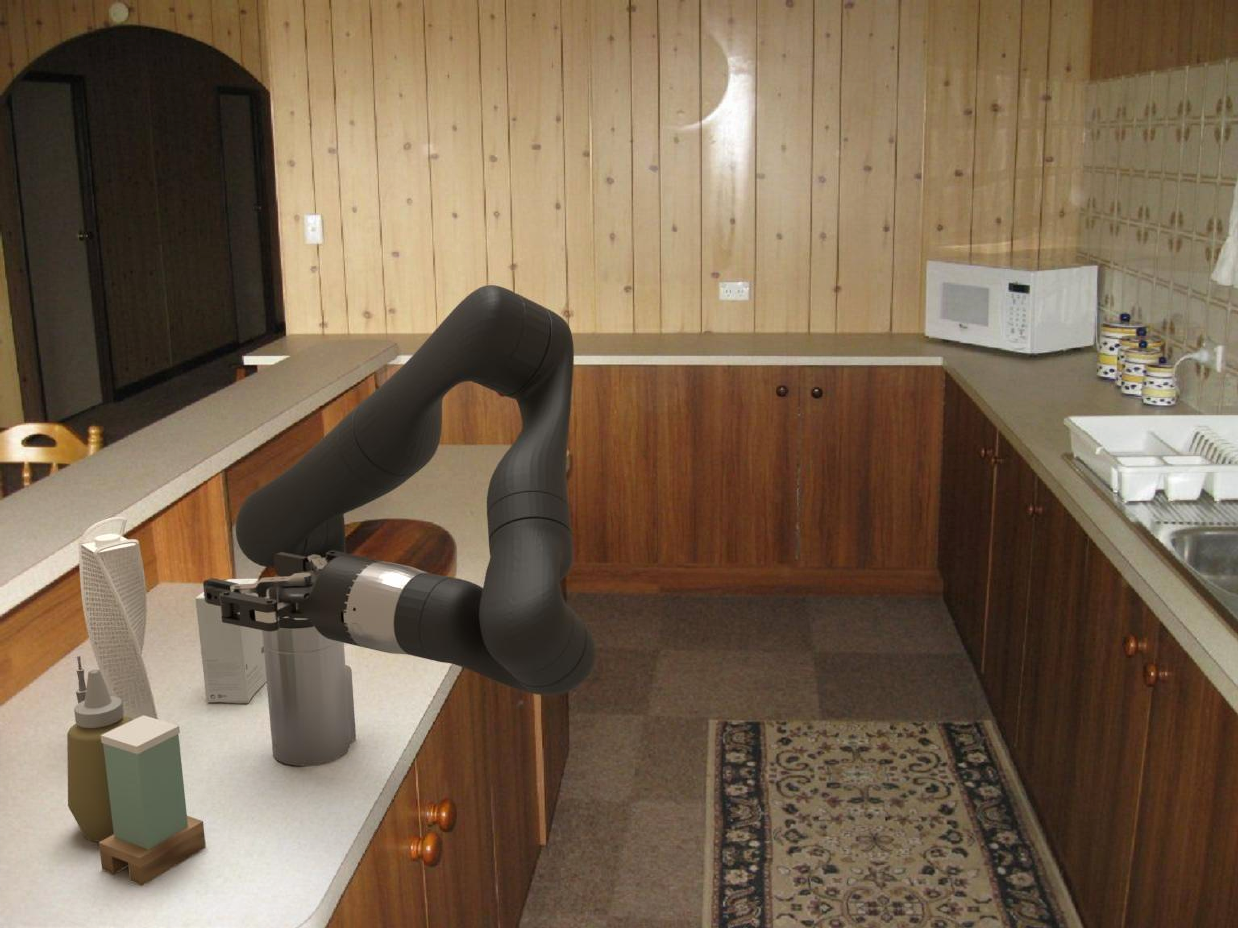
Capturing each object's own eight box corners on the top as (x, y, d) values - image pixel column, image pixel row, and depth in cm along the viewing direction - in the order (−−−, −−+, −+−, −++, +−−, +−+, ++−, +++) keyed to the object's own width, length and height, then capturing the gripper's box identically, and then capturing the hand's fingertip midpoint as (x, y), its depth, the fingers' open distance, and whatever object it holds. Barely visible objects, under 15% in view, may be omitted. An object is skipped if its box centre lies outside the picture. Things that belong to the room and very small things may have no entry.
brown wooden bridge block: (165, 832, 132) (163, 807, 131) (205, 847, 129) (203, 821, 128) (101, 869, 125) (98, 842, 124) (142, 885, 122) (139, 858, 121)
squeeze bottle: (72, 855, 128) (51, 693, 123) (71, 819, 135) (51, 664, 130) (155, 838, 131) (138, 679, 126) (150, 803, 138) (134, 651, 134)
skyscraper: (111, 726, 158) (86, 514, 151) (173, 727, 157) (151, 514, 151) (79, 757, 150) (52, 534, 143) (145, 758, 149) (120, 535, 143)
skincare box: (248, 704, 163) (238, 597, 159) (203, 703, 163) (193, 596, 160) (269, 678, 171) (261, 576, 168) (227, 678, 171) (217, 575, 168)
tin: (154, 813, 130) (143, 715, 127) (189, 826, 127) (179, 725, 125) (112, 837, 125) (100, 735, 123) (148, 850, 123) (136, 746, 120)
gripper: (428, 541, 111) (295, 518, 119) (317, 588, 99) (177, 558, 107) (432, 620, 113) (300, 591, 121) (323, 675, 101) (185, 640, 109)
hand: (242, 576), depth 114 cm, fingers open, 8 cm apart
